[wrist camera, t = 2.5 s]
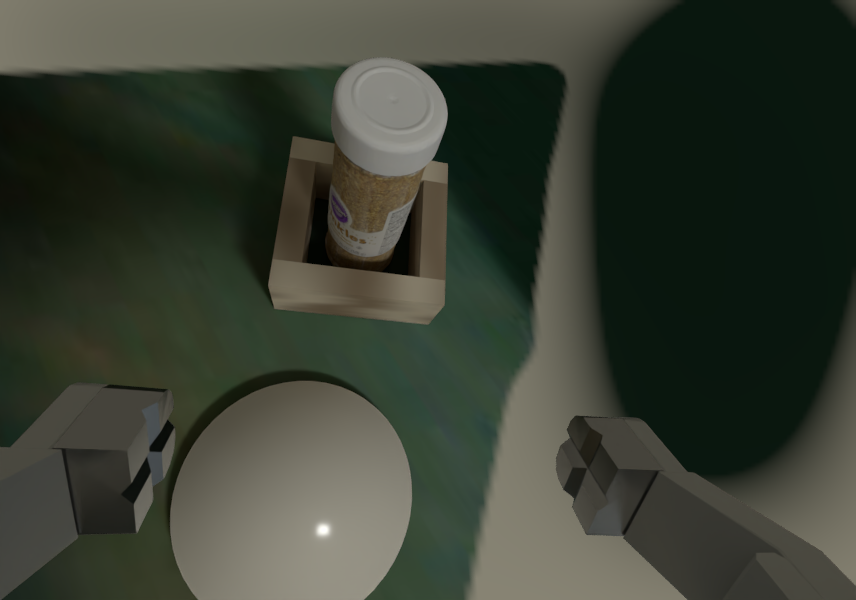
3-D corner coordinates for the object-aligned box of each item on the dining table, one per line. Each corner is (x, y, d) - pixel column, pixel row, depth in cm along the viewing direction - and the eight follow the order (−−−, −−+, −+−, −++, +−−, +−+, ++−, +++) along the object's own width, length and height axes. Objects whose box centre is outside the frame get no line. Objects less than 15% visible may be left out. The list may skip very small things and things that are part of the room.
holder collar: (274, 308, 27) (268, 285, 23) (295, 175, 30) (293, 136, 27) (428, 324, 29) (444, 304, 25) (432, 197, 32) (447, 163, 28)
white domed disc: (148, 634, 21) (142, 640, 20) (201, 375, 25) (198, 372, 24) (403, 623, 23) (406, 629, 22) (413, 390, 27) (416, 388, 27)
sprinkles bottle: (309, 246, 29) (306, 87, 16) (359, 205, 31) (389, 34, 18) (361, 294, 29) (397, 169, 16) (408, 250, 30) (473, 107, 18)
